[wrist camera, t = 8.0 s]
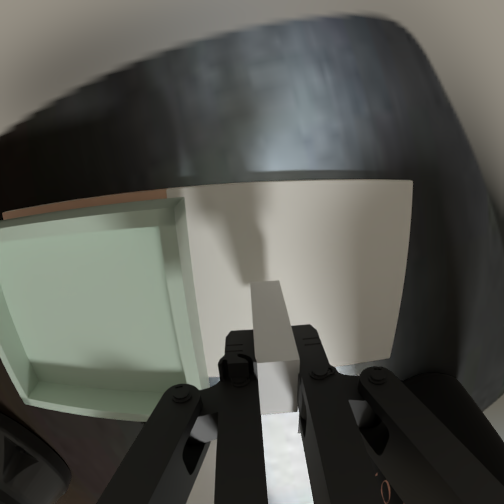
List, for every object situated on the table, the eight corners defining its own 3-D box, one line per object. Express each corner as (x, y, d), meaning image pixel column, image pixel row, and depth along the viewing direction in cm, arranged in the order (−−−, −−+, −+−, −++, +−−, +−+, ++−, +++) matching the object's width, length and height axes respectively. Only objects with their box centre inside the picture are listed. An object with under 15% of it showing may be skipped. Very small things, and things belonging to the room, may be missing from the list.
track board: (53, 365, 21) (50, 369, 20) (6, 211, 16) (2, 212, 16) (387, 354, 21) (389, 358, 21) (408, 179, 17) (413, 181, 17)
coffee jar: (364, 381, 22) (451, 586, 5) (468, 354, 22) (576, 494, 5) (347, 455, 26) (392, 606, 9) (438, 429, 26) (502, 552, 9)
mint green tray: (48, 368, 20) (24, 403, 16) (0, 216, 16) (-42, 235, 12) (212, 376, 20) (208, 423, 16) (189, 191, 16) (173, 207, 12)
